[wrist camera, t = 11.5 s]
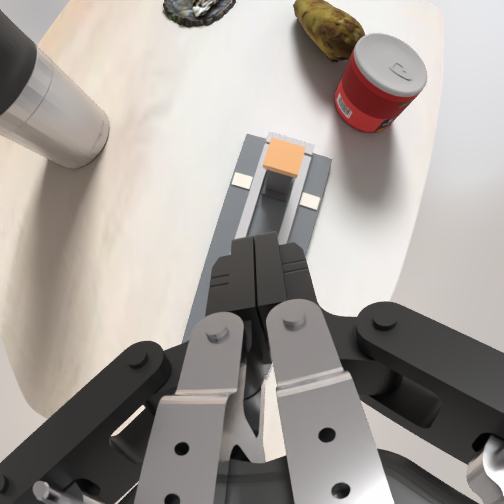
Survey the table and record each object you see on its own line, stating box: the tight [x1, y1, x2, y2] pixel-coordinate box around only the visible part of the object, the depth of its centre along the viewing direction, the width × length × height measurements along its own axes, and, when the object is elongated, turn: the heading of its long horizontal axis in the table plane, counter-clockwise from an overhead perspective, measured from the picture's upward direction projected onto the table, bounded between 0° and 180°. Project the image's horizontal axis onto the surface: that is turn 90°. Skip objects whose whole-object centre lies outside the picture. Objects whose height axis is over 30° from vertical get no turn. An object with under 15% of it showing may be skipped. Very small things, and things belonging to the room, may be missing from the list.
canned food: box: [335, 33, 427, 133], centre depth 30 cm, size 8×8×11 cm
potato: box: [293, 0, 365, 62], centre depth 32 cm, size 8×13×8 cm, turn 1°
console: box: [182, 132, 332, 374], centre depth 34 cm, size 10×26×2 cm, turn 163°
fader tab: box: [262, 138, 306, 202], centre depth 29 cm, size 3×3×10 cm
